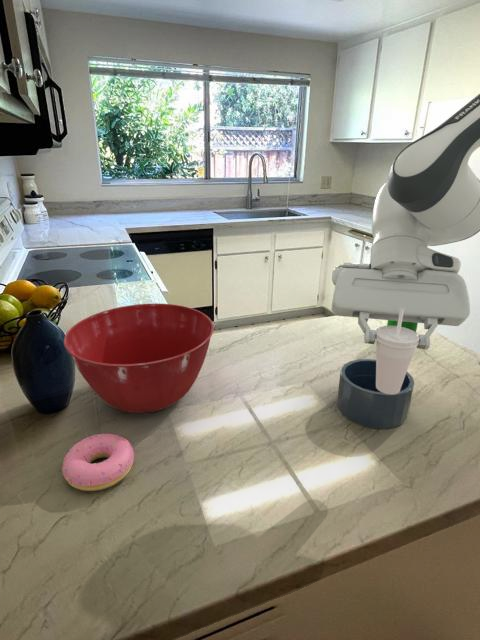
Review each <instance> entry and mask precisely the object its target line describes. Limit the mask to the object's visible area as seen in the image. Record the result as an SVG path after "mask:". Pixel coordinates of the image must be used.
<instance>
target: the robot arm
mask: <svg viewBox="0 0 480 640" xmlns="http://www.w3.org/2000/svg"><path fill="white" fill-rule="evenodd" d="M479 148H480V93H479V94H477V95H476V96H474V97H473V98H472V99H471V100H470V101H469V102H467V103H466V104H465V105H463V106H462V107H461V108H460V109H459V110H457V111H456V112H455V113H454V114H452V115H451V116H450V117H448V118H447V119H446V120H445V121H443V122H442V123H441V124H440V125H438V126H437V127H436V128H434V129H432V130H431V131H429V132H427V133H426V134H424V135H422V136H420V137H419V138H417V139H416V140H414V141H412V142H411V143H410V144H408V145H407V146H406V147H404V148H403V149H402V150H401V151H400V152H399V153H398V154H397V156H396V157H395V159H394V161H393V162H392V164H391V167H390V171H389V174H388V180H387V181H386V182H385V183H384V184H383V185H382V186H381V187H380V189H379V191H378V193H377V195H376V198H375V200H374V204H373V210H372V218H371V235H372V237H373V240H372V244H371V246H370V256H369V258H370V259H369V263H351V262H342V264H339V265H337V266H334V268H333V270H332V275H331V281H332V283H333V285H334V289H333V295H332V302H331V311H332V313H333V314H334V315H335V316H336V317H349V318H357V324H358V326H359V328H360V329H361V331H362V333H363V334H364V340H363V343H364V344H368V345H369V344H371V345H375V343H376V341H377V340H376V337H375V335H376V330H375V329H371V328H370V326H369V323H368V321H369V320H381V321H388V320H392V321H398V318H399V313H400V308H404V313H403V319H402V321H403V322H415V323H418V324H423V328H424V330H426V332H425V334H418V335H419V337H420V338H419V344H418V345H417V346H416V349H419V350H428V349H429V348H430V346H431V336H432V334H433V333H434V332H435V330H436V328H437V327H438V325H440V326H450V327H459V326H461V324H463V323H464V322H465V321H466V320H467V319H468V318H469V316H470V314H471V304H470V296H469V291H468V286H467V283H466V280H465V279H464V277H463V276H462V275H461V274H459V272H460V269H461V266H462V265H461V259H459V258H458V257H456V256H452V255H449V254H446V253H443V252H440V251H437V250H435V249H432V248H429V247H436V246H443V245H448V244H453V243H458V242H462V241H465V240H468V239H470V238H472V237H473V236H475V235H477V234H478V233H479V232H480V179H479V178H478V176H477V175H476V174H475V172H474V171H473V169H472V168H471V167H470V165H469V160H470V158H471V156H472V155H473V154H474V152H475V151H476V150H478V149H479Z"/></svg>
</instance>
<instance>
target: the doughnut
mask: <svg viewBox="0 0 480 640" xmlns="http://www.w3.org/2000/svg"><path fill="white" fill-rule="evenodd" d="M105 458H106V459H105ZM98 459H103V461H100V462H94V461H96V460H98ZM134 461H135V450H134V448H133V446H132V443H131V442H129V439H127V438H125V437H123V436H121V435H119V434H115V433H109V432H108V433H106V432H104V433H102V432H101V433H99V434H92V435H88V437H86V438H83V439H81V440H79V441H78V442H76V443H74V444H72V447H70V448H69V449H68V451H66V454H65V456H64V458H63V461H62V463H61V471H62V475H63V477H64V480H66V482H67V484H69V485H70V486H71V487H73V488H74V489H77V490H80V491H84V492H96V491H97V492H98V491H102V490H105V489H109V488H110V487H113V486H115V485H116V484H118V483H119V482H121V481H122V480H123V479H124V478H126V476H128V474H129V473H130V471H131V469H132V467H133V464H134ZM93 462H94V463H93Z"/></svg>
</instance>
